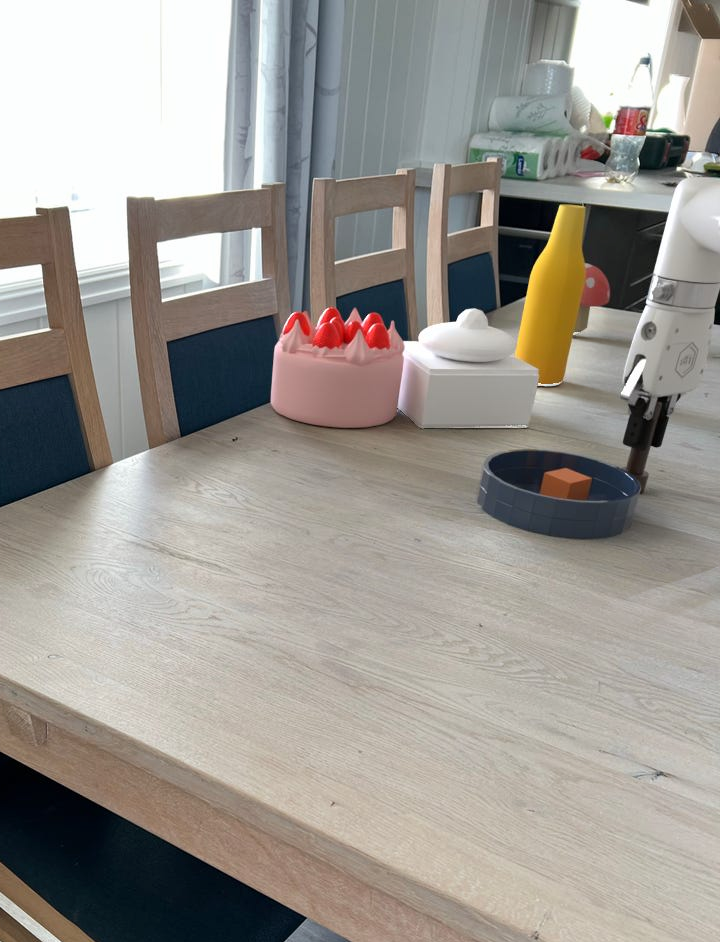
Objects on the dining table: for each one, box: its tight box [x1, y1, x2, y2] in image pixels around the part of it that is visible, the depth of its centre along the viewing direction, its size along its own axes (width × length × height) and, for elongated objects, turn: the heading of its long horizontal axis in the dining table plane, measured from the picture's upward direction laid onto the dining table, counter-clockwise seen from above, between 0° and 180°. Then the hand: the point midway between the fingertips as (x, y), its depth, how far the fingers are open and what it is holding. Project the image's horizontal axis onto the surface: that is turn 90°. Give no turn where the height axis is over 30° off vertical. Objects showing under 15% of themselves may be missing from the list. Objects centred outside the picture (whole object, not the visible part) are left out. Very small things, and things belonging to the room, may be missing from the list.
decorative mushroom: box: [574, 262, 611, 333], centre depth 208 cm, size 13×13×15 cm
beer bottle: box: [514, 204, 586, 384], centre depth 168 cm, size 9×9×29 cm
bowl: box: [476, 448, 641, 540], centre depth 117 cm, size 18×18×5 cm
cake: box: [270, 306, 405, 429], centre depth 148 cm, size 20×20×14 cm
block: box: [540, 468, 592, 501], centre depth 118 cm, size 4×4×4 cm
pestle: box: [620, 399, 662, 496], centre depth 123 cm, size 4×4×12 cm
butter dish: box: [397, 307, 539, 428], centre depth 151 cm, size 18×18×16 cm
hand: (641, 444), depth 123 cm, fingers closed on pestle, 2 cm apart
